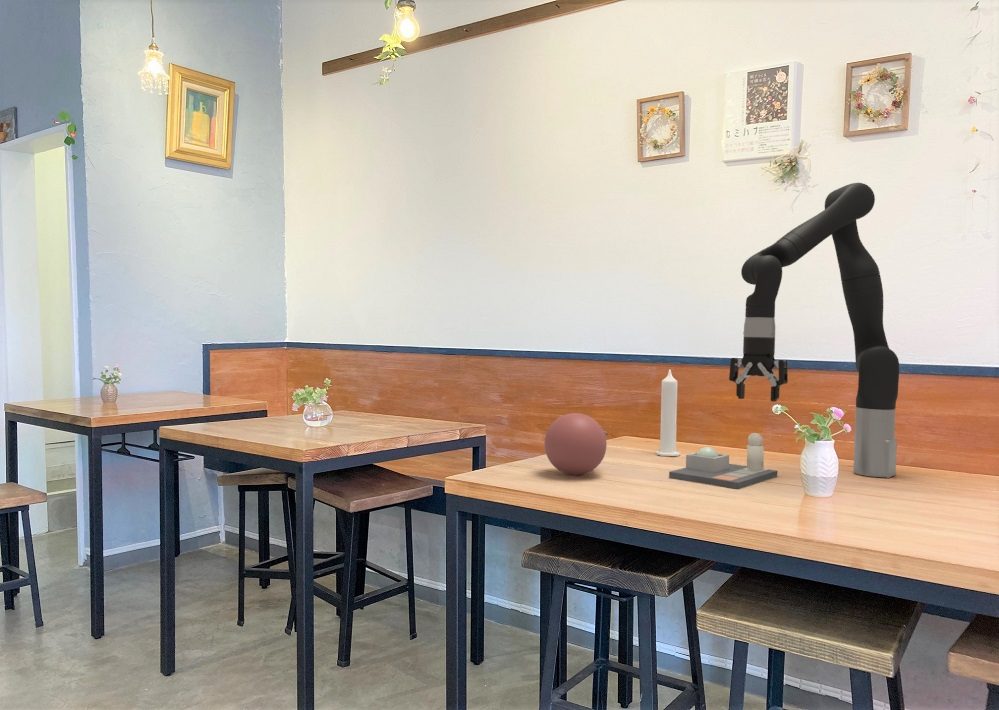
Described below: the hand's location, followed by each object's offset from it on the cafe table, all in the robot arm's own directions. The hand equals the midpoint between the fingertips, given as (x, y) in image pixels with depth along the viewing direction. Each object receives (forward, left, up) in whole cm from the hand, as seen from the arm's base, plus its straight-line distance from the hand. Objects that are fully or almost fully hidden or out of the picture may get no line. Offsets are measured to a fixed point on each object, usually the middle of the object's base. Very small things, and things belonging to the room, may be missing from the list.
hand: (757, 400), depth 191 cm
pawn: (0, 0, -18) cm, 18 cm away
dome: (+9, +8, -18) cm, 21 cm away
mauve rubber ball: (+31, +31, -19) cm, 48 cm away
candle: (+31, -11, -19) cm, 39 cm away
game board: (+4, +8, -19) cm, 21 cm away
